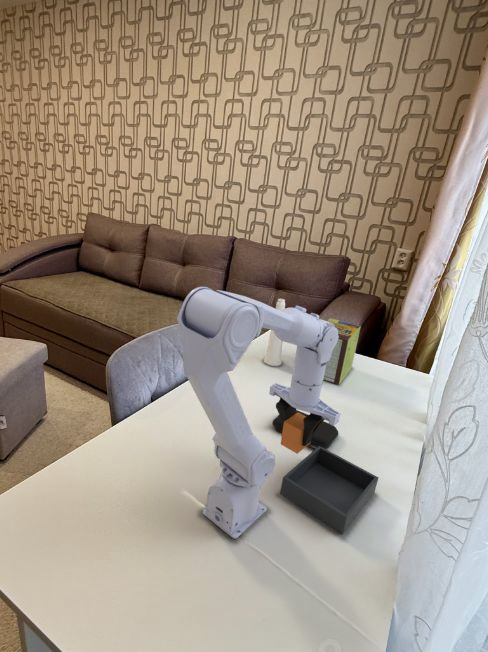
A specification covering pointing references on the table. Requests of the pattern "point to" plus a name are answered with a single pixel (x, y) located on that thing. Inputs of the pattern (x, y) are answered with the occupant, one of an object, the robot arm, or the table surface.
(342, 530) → the bin
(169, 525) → the table surface
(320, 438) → the carrying case
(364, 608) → the table surface
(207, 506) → the robot arm
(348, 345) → the protein box
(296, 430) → the block
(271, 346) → the cosmetic bottle
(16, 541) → the table surface
